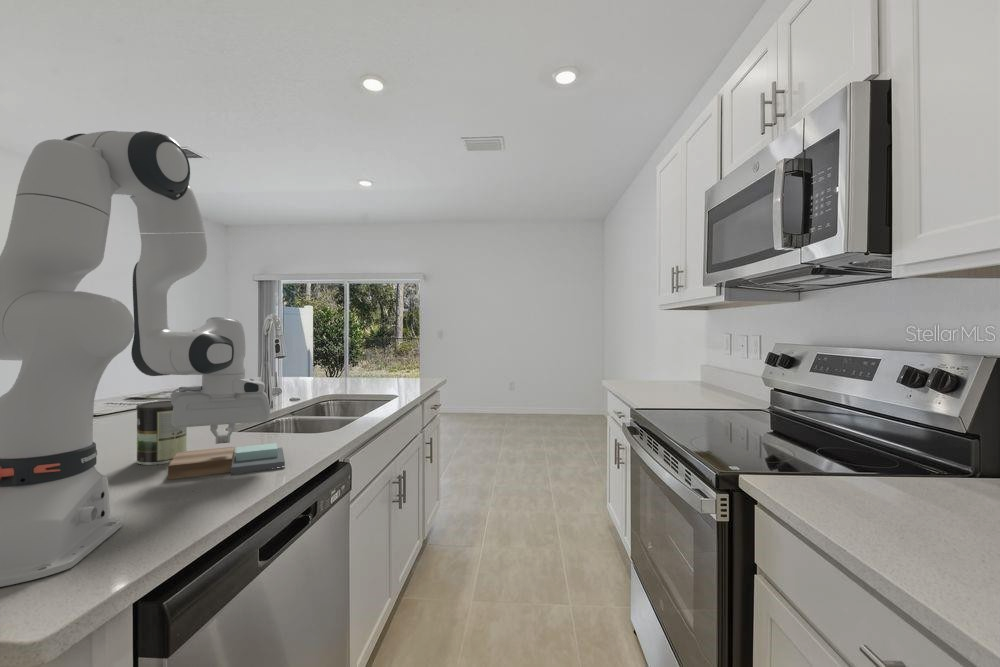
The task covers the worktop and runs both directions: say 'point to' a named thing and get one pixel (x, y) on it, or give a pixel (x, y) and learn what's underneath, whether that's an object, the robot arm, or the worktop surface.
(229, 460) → the brown square plate
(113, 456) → the worktop surface
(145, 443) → the coffee can
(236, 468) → the grey flat slab
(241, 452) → the block
